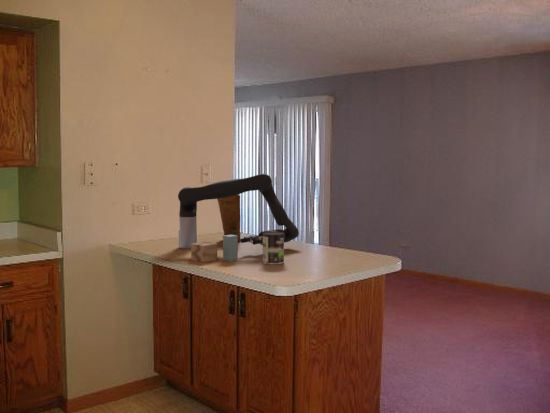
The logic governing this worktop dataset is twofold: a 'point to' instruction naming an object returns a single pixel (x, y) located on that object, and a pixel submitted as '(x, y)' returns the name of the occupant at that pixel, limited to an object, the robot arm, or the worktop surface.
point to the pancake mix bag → (230, 215)
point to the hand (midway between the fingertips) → (247, 241)
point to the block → (204, 251)
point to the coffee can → (273, 248)
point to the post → (230, 247)
